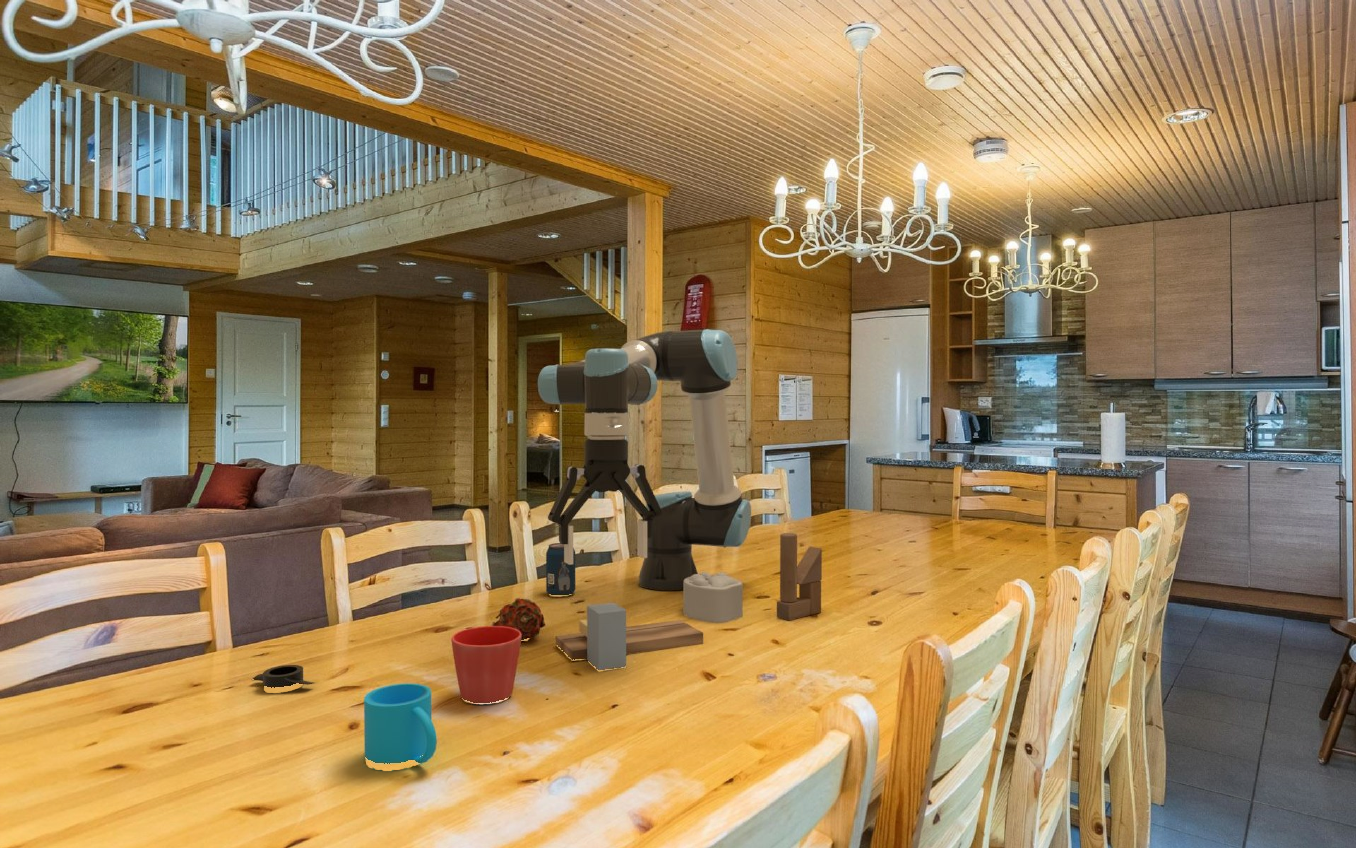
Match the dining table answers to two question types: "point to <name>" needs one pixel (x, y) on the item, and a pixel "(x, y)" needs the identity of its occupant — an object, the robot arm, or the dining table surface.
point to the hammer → (605, 635)
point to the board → (638, 638)
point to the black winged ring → (282, 676)
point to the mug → (399, 724)
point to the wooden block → (799, 580)
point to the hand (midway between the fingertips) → (606, 560)
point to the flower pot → (486, 662)
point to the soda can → (559, 571)
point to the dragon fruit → (522, 617)
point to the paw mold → (712, 597)
